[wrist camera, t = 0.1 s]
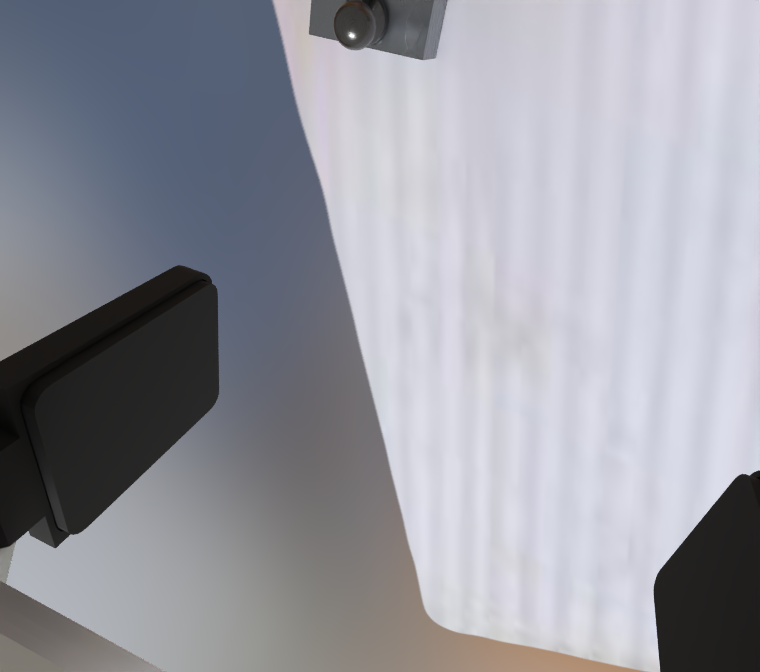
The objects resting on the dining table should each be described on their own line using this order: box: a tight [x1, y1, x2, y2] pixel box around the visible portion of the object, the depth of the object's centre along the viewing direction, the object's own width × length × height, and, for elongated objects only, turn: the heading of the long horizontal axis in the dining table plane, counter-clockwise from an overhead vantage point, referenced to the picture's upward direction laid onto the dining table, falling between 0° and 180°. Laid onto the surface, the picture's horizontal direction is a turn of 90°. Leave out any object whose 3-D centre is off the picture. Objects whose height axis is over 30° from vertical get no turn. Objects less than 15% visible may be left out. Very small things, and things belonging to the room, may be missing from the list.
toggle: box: [333, 0, 376, 50], centre depth 28 cm, size 2×2×7 cm
